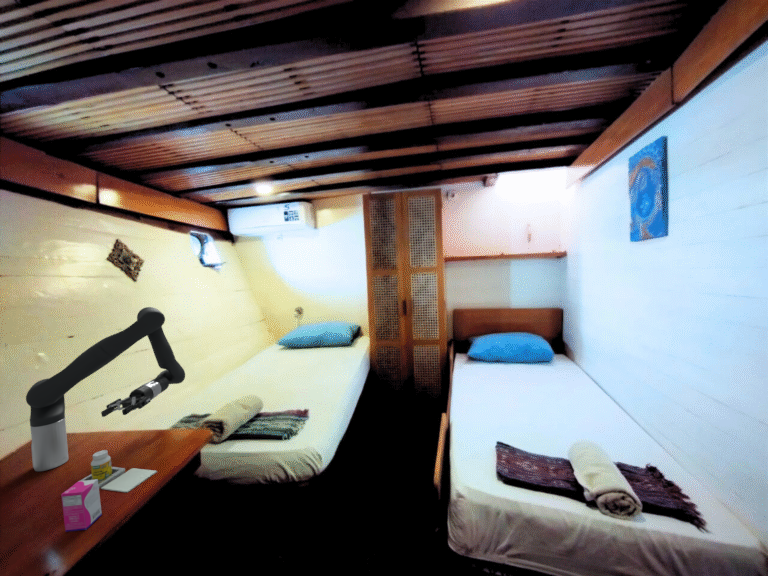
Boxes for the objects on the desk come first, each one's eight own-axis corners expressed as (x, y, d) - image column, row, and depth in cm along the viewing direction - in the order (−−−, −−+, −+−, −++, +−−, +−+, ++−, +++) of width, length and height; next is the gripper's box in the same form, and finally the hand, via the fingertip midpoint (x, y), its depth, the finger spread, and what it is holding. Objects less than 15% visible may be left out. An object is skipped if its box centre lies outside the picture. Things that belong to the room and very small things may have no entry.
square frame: (78, 485, 109) (77, 481, 109) (105, 469, 118) (105, 465, 118) (98, 488, 107) (98, 484, 107) (125, 472, 116) (124, 468, 116)
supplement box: (81, 516, 95) (78, 480, 94) (102, 514, 95) (99, 478, 95) (63, 532, 89) (60, 493, 89) (86, 530, 90) (82, 491, 89)
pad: (101, 489, 107) (101, 487, 107) (132, 469, 118) (132, 468, 118) (127, 492, 105) (127, 491, 105) (157, 471, 116) (157, 470, 116)
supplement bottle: (113, 472, 116) (111, 447, 116) (110, 480, 112) (108, 453, 111) (94, 477, 113) (91, 452, 113) (90, 486, 109) (88, 459, 109)
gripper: (128, 386, 136) (92, 406, 120) (159, 383, 136) (128, 403, 120) (132, 402, 138) (97, 424, 122) (163, 399, 137) (132, 421, 121)
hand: (112, 413), depth 121 cm, fingers open, 8 cm apart
